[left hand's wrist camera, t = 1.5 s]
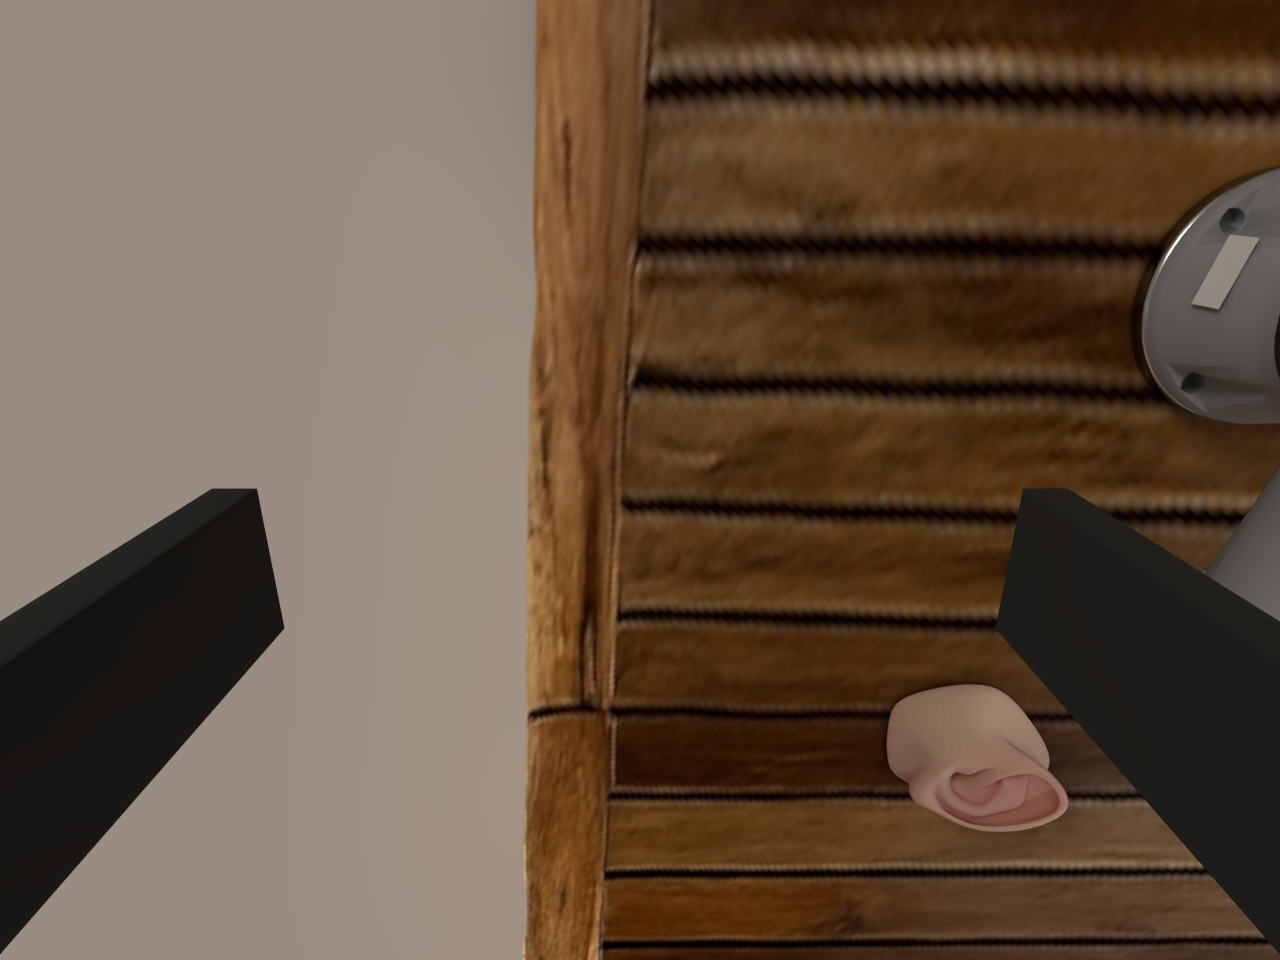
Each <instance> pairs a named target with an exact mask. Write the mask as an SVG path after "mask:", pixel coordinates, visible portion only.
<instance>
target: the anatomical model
mask: <svg viewBox="0 0 1280 960" xmlns="http://www.w3.org/2000/svg"><path fill="white" fill-rule="evenodd" d="M887 755H888V763H889V766H890V768H891V770H892V771H893V772H894V773H895V774H896V775H897V776H898V777H899V778H901V779H902V780H904V781H906V782H907V783H909V793H910V795H911V797H912V799H913V800H914V801H915V802H916V803H917V804H919V805H921V806H923V807H925V808H927V809H929V810H931V811H933V812H935V813H936V814H938V815H940V816H942V817H944V818H946V819H948V820H950V821H952V822H954V823H957V824H959V825H962V826H964V827H968V828H971V829H975V830H981V831H994V832H1005V831H1018V830H1024V829H1029V828H1033V827H1036V826H1040V825H1043V824H1045V823H1048V822H1050V821H1052V820H1054V819H1056V818H1058V817H1059V816H1061V815H1062V814H1063V813H1064V812H1065V811H1066V809H1067V807H1068V798H1067V795H1066V792H1065V790H1064V789H1063V787H1062V786H1061V784H1060V783H1059V782H1058V780H1057V779H1056V778H1055V777H1054V776H1053V775H1052V774H1051V773H1050V772H1049V771H1048V770H1047V769H1048V767H1049V754H1048V751H1047V748H1046V746H1045V744H1044V742H1043V740H1042V738H1041V736H1040V735H1039V733H1038V731H1037V730H1036V728H1035V727H1034V725H1033V724H1032V722H1031V721H1030V720H1029V718H1028V717H1027V716H1026V714H1025V713H1024V712H1023V711H1022V709H1021V708H1020V707H1019V706H1018V705H1017V704H1016V703H1015V702H1014V701H1013V700H1012V699H1011V698H1010V697H1009V696H1008V695H1006V694H1005V693H1003V692H1002V691H1000V690H998V689H996V688H993V687H990V686H985V685H976V684H963V685H953V686H946V687H940V688H935V689H931V690H926V691H923V692H919V693H916V694H913V695H910V696H908V697H906V698H904V699H902V700H901V701H899V702H898V703H897V704H896V705H895V706H894V708H893V710H892V712H891V715H890V719H889V724H888V733H887Z"/></svg>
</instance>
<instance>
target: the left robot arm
mask: <svg viewBox="0 0 1280 960" xmlns="http://www.w3.org/2000/svg"><path fill="white" fill-rule="evenodd" d="M1132 340H1133V346H1134V351H1135V355H1136V359H1137V361H1138V364H1139V366H1140V369H1141V371H1142V372H1143V374H1144V376H1145V378H1146V379H1147V381H1148V382H1149V383H1150V385H1151V386H1152V387H1153V388H1154V389H1155V390H1156V392H1157V393H1158V394H1160V395H1161V396H1162V397H1163V398H1164V399H1166V400H1167V401H1169V402H1170V403H1172V404H1173V405H1175V406H1177V407H1179V408H1181V409H1183V410H1186V411H1188V412H1191V413H1194V414H1197V415H1200V416H1203V417H1206V418H1209V419H1213V420H1218V421H1225V422H1231V423H1240V424H1265V423H1280V166H1275V167H1270V168H1265V169H1261V170H1258V171H1254V172H1251V173H1249V174H1246V175H1244V176H1241V177H1239V178H1237V179H1234V180H1232V181H1230V182H1228V183H1226V184H1225V185H1223V186H1221V187H1219V188H1218V189H1216V190H1214V191H1213V192H1211V193H1210V194H1209V195H1207V196H1206V197H1204V198H1203V199H1202V200H1200V201H1199V202H1198V203H1197V204H1195V205H1194V206H1193V207H1192V208H1191V209H1190V210H1189V211H1187V212H1186V213H1185V214H1184V215H1183V216H1182V217H1181V218H1180V219H1179V220H1178V221H1177V223H1176V224H1175V225H1174V226H1173V227H1172V228H1171V229H1170V231H1169V232H1168V233H1167V234H1166V236H1165V237H1164V238H1163V240H1162V241H1161V243H1160V244H1159V246H1158V247H1157V249H1156V250H1155V252H1154V253H1153V255H1152V257H1151V259H1150V261H1149V262H1148V264H1147V266H1146V269H1145V271H1144V273H1143V275H1142V278H1141V281H1140V284H1139V286H1138V289H1137V293H1136V297H1135V301H1134V307H1133V313H1132ZM283 629H284V624H283V619H282V614H281V608H280V604H279V598H278V593H277V588H276V583H275V578H274V573H273V568H272V563H271V558H270V553H269V548H268V543H267V538H266V533H265V528H264V522H263V517H262V512H261V507H260V502H259V497H258V492H257V489H211V490H209V491H208V492H206V493H204V494H203V495H201V496H200V497H198V498H196V499H195V500H193V501H192V502H190V503H188V504H187V505H185V506H184V507H182V508H180V509H179V510H177V511H176V512H174V513H172V514H171V515H169V516H168V517H166V518H164V519H163V520H161V521H160V522H158V523H156V524H155V525H153V526H152V527H150V528H148V529H147V530H145V531H144V532H142V533H140V534H139V535H137V536H136V537H134V538H133V539H131V540H129V541H128V542H126V543H124V544H123V545H121V546H120V547H118V548H117V549H115V550H113V551H112V552H110V553H108V554H107V555H105V556H104V557H102V558H100V559H99V560H97V561H96V562H94V563H93V564H91V565H89V566H88V567H86V568H85V569H83V570H81V571H80V572H78V573H77V574H75V575H73V576H72V577H70V578H69V579H67V580H65V581H64V582H62V583H61V584H59V585H57V586H56V587H54V588H53V589H51V590H49V591H48V592H46V593H45V594H43V595H41V596H40V597H38V598H37V599H35V600H33V601H32V602H30V603H29V604H27V605H25V606H24V607H22V608H21V609H19V610H17V611H16V612H14V613H13V614H11V615H9V616H8V617H6V618H5V619H3V620H2V621H0V954H1V953H2V951H3V950H4V949H5V948H6V947H7V946H8V945H9V943H10V942H11V941H12V940H13V939H14V938H15V937H16V935H17V934H18V933H19V932H20V931H21V930H22V929H23V927H24V926H25V925H26V924H27V923H28V922H29V921H30V919H31V918H32V917H33V916H34V915H35V914H36V913H37V911H38V910H39V909H40V908H41V907H42V906H43V904H44V903H45V902H46V901H47V900H48V899H49V898H50V896H51V895H52V894H53V893H54V892H55V891H56V890H57V888H58V887H59V886H60V885H61V884H62V883H63V881H64V880H65V879H66V878H67V877H68V876H69V875H70V874H71V872H72V871H73V870H74V869H75V868H76V867H77V866H78V864H79V863H80V862H81V861H82V860H83V859H84V858H85V856H86V855H87V854H88V853H89V852H90V851H91V849H92V848H93V847H94V846H95V845H96V844H97V843H98V841H99V840H100V839H101V838H102V837H103V836H104V835H105V833H106V832H107V831H108V830H109V829H110V828H111V827H112V825H113V824H114V823H115V822H116V821H117V820H118V819H119V817H120V816H121V815H122V814H123V813H124V812H125V811H126V809H127V808H128V807H129V806H130V805H131V804H132V802H133V801H134V800H135V799H136V798H137V797H138V796H139V794H140V793H141V792H142V791H143V790H144V789H145V788H146V786H147V785H148V784H149V783H150V782H151V781H152V780H153V778H154V777H155V776H156V775H157V774H158V773H159V772H160V770H161V769H162V768H163V767H164V766H165V765H166V764H167V762H168V761H169V760H170V759H171V758H172V757H173V755H174V754H175V753H176V752H177V751H178V750H179V749H180V747H181V746H182V745H183V744H184V743H185V742H186V741H187V739H188V738H189V737H190V736H191V735H192V734H193V732H194V731H195V730H196V729H197V728H198V727H199V726H200V725H201V723H202V722H203V721H204V720H205V719H206V718H207V717H208V715H209V714H210V713H211V712H212V711H213V710H214V708H215V707H216V706H217V705H218V704H219V703H220V702H221V700H222V699H223V698H224V697H225V696H226V695H227V694H228V692H229V691H230V690H231V689H232V688H233V687H234V686H235V684H236V683H237V682H238V681H239V680H240V679H241V678H242V676H243V675H244V674H245V673H246V672H247V671H248V670H249V668H250V667H251V666H252V665H253V664H254V663H255V662H256V660H257V659H258V658H259V657H260V656H261V655H262V653H263V652H264V651H265V650H266V649H267V648H268V647H269V645H270V644H271V643H272V642H273V641H274V640H275V639H276V637H277V636H278V635H279V634H280V633H281V632H282V631H283ZM996 629H997V631H998V632H999V633H1000V634H1001V635H1002V636H1003V637H1004V639H1005V640H1006V641H1007V642H1008V643H1009V644H1010V645H1011V647H1012V648H1013V649H1014V650H1015V651H1016V652H1017V653H1018V655H1019V656H1020V657H1021V658H1022V659H1023V660H1024V662H1025V663H1026V664H1027V665H1028V666H1029V667H1030V668H1031V670H1032V671H1033V672H1034V673H1035V674H1036V675H1037V676H1038V678H1039V679H1040V680H1041V681H1042V682H1043V683H1044V684H1045V686H1046V687H1047V688H1048V689H1049V690H1050V691H1051V692H1052V694H1053V695H1054V696H1055V697H1056V698H1057V699H1058V700H1059V702H1060V703H1061V704H1062V705H1063V706H1064V707H1065V709H1066V710H1067V711H1068V712H1069V713H1070V714H1071V715H1072V717H1073V718H1074V719H1075V720H1076V721H1077V722H1078V723H1079V725H1080V726H1081V727H1082V728H1083V729H1084V730H1085V731H1086V733H1087V734H1088V735H1089V736H1090V737H1091V738H1092V739H1093V741H1094V742H1095V743H1096V744H1097V745H1098V746H1099V747H1100V749H1101V750H1102V751H1103V752H1104V753H1105V754H1106V755H1107V757H1108V758H1109V759H1110V760H1111V761H1112V762H1113V764H1114V765H1115V766H1116V767H1117V768H1118V769H1119V770H1120V772H1121V773H1122V774H1123V775H1124V776H1125V777H1126V778H1127V780H1128V781H1129V782H1130V783H1131V784H1132V785H1133V786H1134V788H1135V789H1136V790H1137V791H1138V792H1139V793H1140V794H1141V796H1142V797H1143V798H1144V799H1145V800H1146V801H1147V802H1148V804H1149V805H1150V806H1151V807H1152V808H1153V809H1154V811H1155V812H1156V813H1157V814H1158V815H1159V816H1160V817H1161V819H1162V820H1163V821H1164V822H1165V823H1166V824H1167V825H1168V827H1169V828H1170V829H1171V830H1172V831H1173V832H1174V833H1175V835H1176V836H1177V837H1178V838H1179V839H1180V840H1181V841H1182V843H1183V844H1184V845H1185V846H1186V847H1187V848H1188V849H1189V851H1190V852H1191V853H1192V854H1193V855H1194V856H1195V858H1196V859H1197V860H1198V861H1199V862H1200V863H1201V864H1202V866H1203V867H1204V868H1205V869H1206V870H1207V871H1208V872H1209V874H1210V875H1211V876H1212V877H1213V878H1214V879H1215V880H1216V882H1217V883H1218V884H1219V885H1220V886H1221V887H1222V888H1223V890H1224V891H1225V892H1226V893H1227V894H1228V895H1229V896H1230V898H1231V899H1232V900H1233V901H1234V902H1235V903H1236V904H1237V906H1238V907H1239V908H1240V909H1241V910H1242V911H1243V913H1244V914H1245V915H1246V916H1247V917H1248V918H1249V919H1250V921H1251V922H1252V923H1253V924H1254V925H1255V926H1256V927H1257V929H1258V930H1259V931H1260V932H1261V933H1262V934H1263V935H1264V937H1265V938H1266V939H1267V940H1268V941H1269V942H1270V943H1271V945H1272V946H1273V947H1274V948H1275V949H1276V950H1277V951H1278V953H1279V954H1280V467H1279V468H1278V470H1277V471H1276V473H1275V474H1274V475H1273V477H1272V478H1271V480H1270V481H1269V483H1268V484H1267V486H1266V487H1265V488H1264V490H1263V491H1262V493H1261V494H1260V496H1259V497H1258V499H1257V500H1256V501H1255V503H1254V504H1253V506H1252V507H1251V509H1250V510H1249V512H1248V513H1247V514H1246V516H1245V517H1244V519H1243V520H1242V522H1241V523H1240V524H1239V526H1238V527H1237V529H1236V530H1235V532H1234V533H1233V535H1232V536H1231V537H1230V539H1229V540H1228V542H1227V543H1226V545H1225V546H1224V548H1223V549H1222V550H1221V552H1220V553H1219V555H1218V556H1217V558H1216V559H1215V561H1214V562H1213V563H1212V565H1211V566H1210V568H1209V569H1205V570H1203V571H1202V572H1200V571H1199V570H1197V569H1195V568H1194V567H1192V566H1191V565H1189V564H1187V563H1186V562H1184V561H1183V560H1181V559H1180V558H1178V557H1176V556H1175V555H1173V554H1172V553H1170V552H1168V551H1167V550H1165V549H1164V548H1162V547H1160V546H1159V545H1157V544H1156V543H1154V542H1152V541H1151V540H1149V539H1148V538H1146V537H1144V536H1143V535H1141V534H1140V533H1138V532H1136V531H1135V530H1133V529H1132V528H1130V527H1128V526H1127V525H1125V524H1124V523H1122V522H1120V521H1119V520H1117V519H1116V518H1114V517H1112V516H1111V515H1109V514H1108V513H1106V512H1104V511H1103V510H1101V509H1100V508H1098V507H1096V506H1095V505H1093V504H1092V503H1090V502H1088V501H1087V500H1085V499H1084V498H1082V497H1080V496H1079V495H1077V494H1076V493H1074V492H1072V491H1071V490H1069V489H1023V492H1022V497H1021V502H1020V507H1019V512H1018V517H1017V522H1016V527H1015V533H1014V538H1013V543H1012V548H1011V553H1010V558H1009V563H1008V568H1007V573H1006V578H1005V583H1004V588H1003V593H1002V598H1001V603H1000V608H999V614H998V619H997V624H996Z"/></svg>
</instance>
